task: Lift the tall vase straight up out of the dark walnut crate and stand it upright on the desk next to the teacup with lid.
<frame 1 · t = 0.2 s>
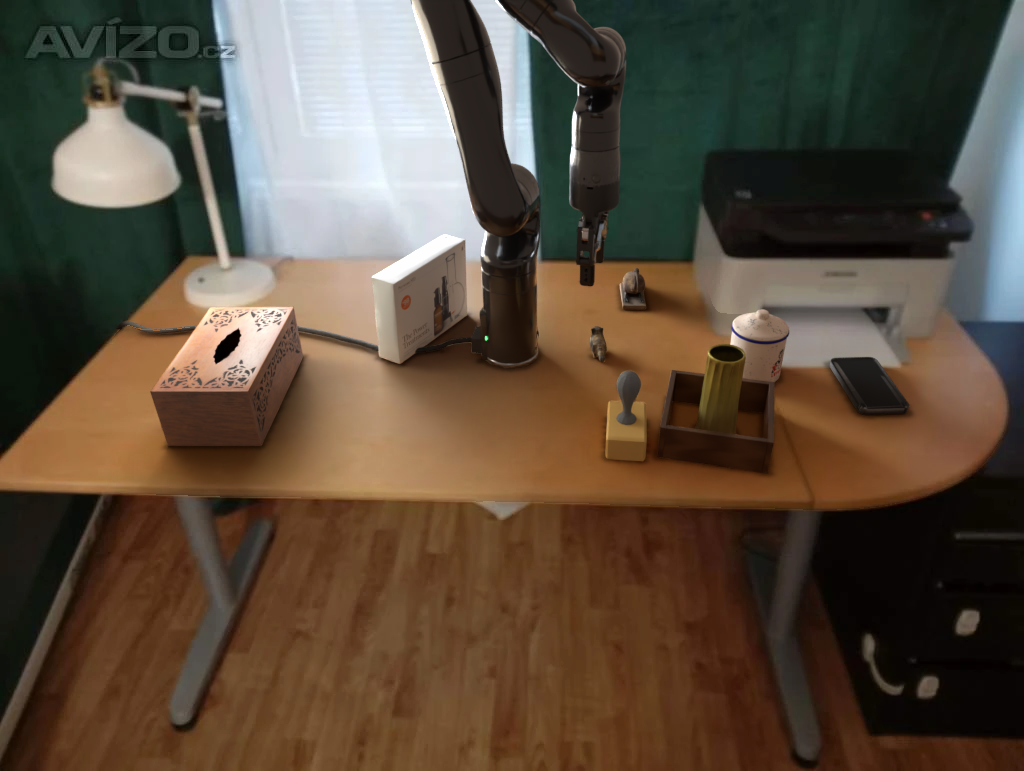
hand: (592, 273, 131), 17 cm above the table, tool pointing down, fingers open, 8 cm apart
teacup with lid: (752, 369, 139), on the table
figurine: (633, 303, 159), on the table
rubber stamp: (625, 440, 123), on the table
skincare box: (426, 336, 150), on the table
tissue box cover: (241, 398, 135), on the table
phone: (866, 388, 133), on the table
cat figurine: (598, 357, 143), on the table
vase: (714, 434, 124), resting in crate
crate: (715, 433, 124), on the table
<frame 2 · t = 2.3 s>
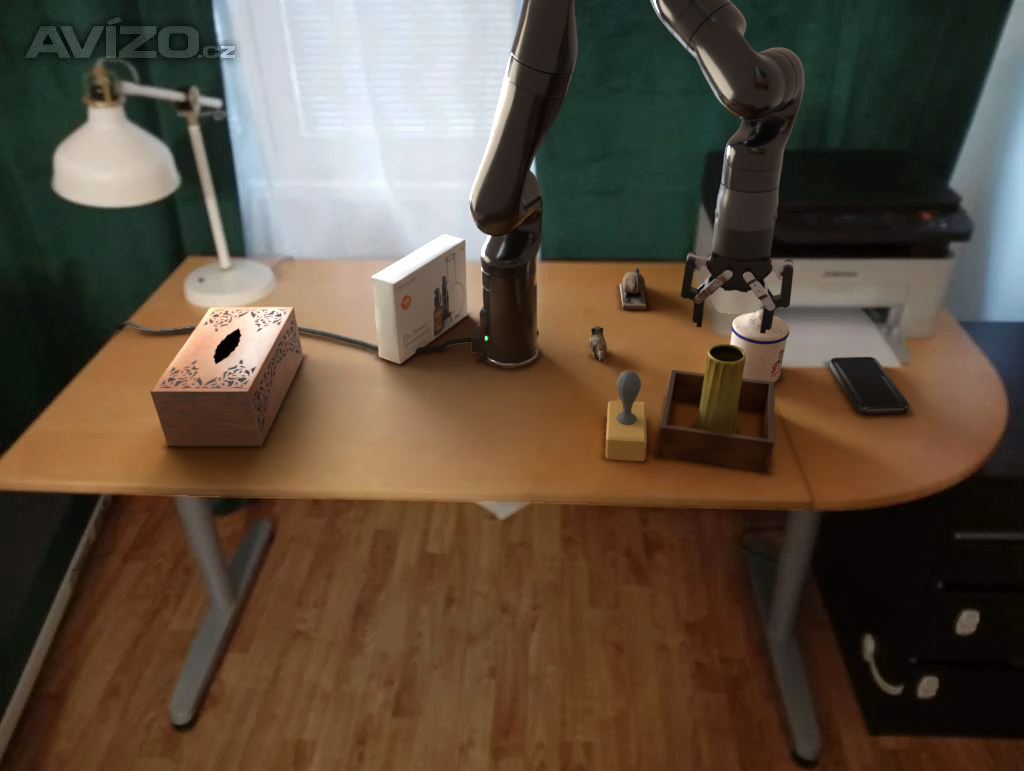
hand: (730, 327, 114), 18 cm above the table, tool pointing down, fingers open, 8 cm apart
nothing on the table moved.
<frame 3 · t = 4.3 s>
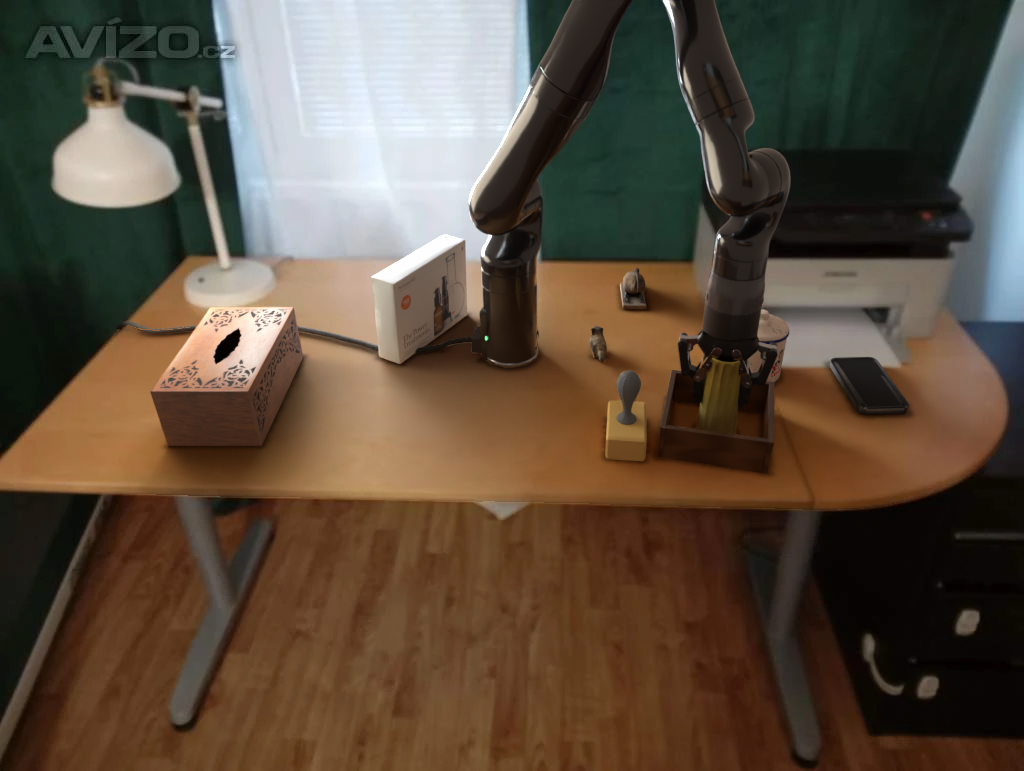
hand: (719, 401, 120), 6 cm above the table, tool pointing down, fingers closed on vase, 5 cm apart
vase: (714, 434, 124), resting in crate, touching gripper
everything else where it was.
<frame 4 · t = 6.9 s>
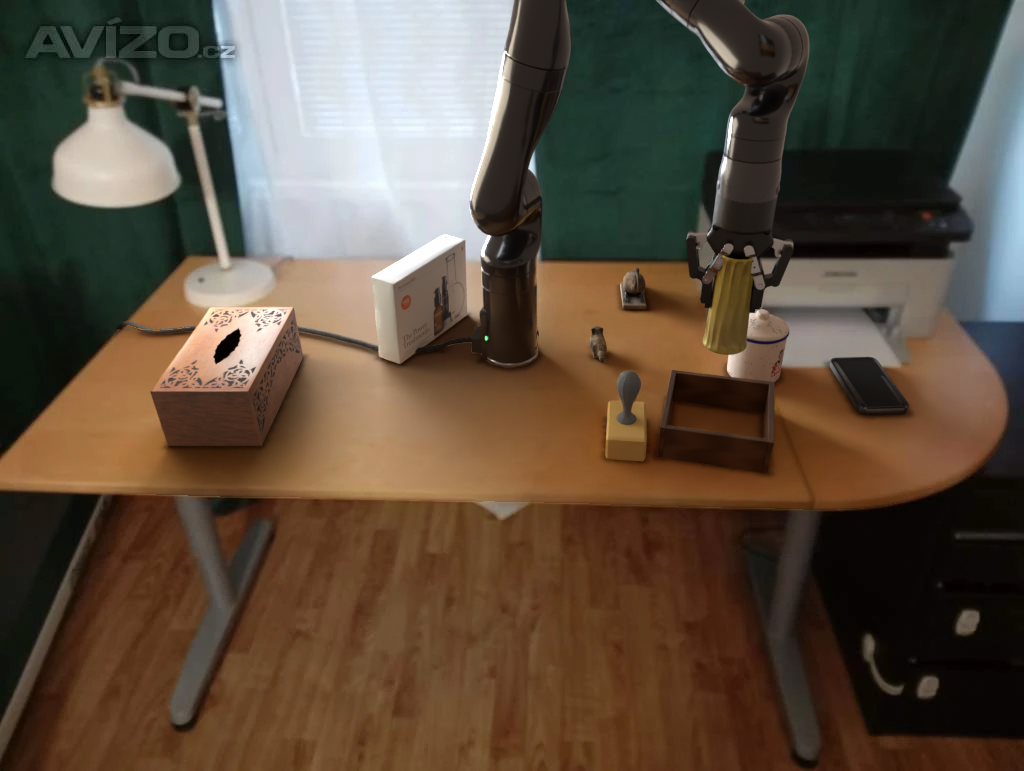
hand: (729, 307, 112), 21 cm above the table, tool pointing down, fingers closed on vase, 5 cm apart
vase: (724, 345, 116), point 15 cm above the table, touching gripper
everything else where it was.
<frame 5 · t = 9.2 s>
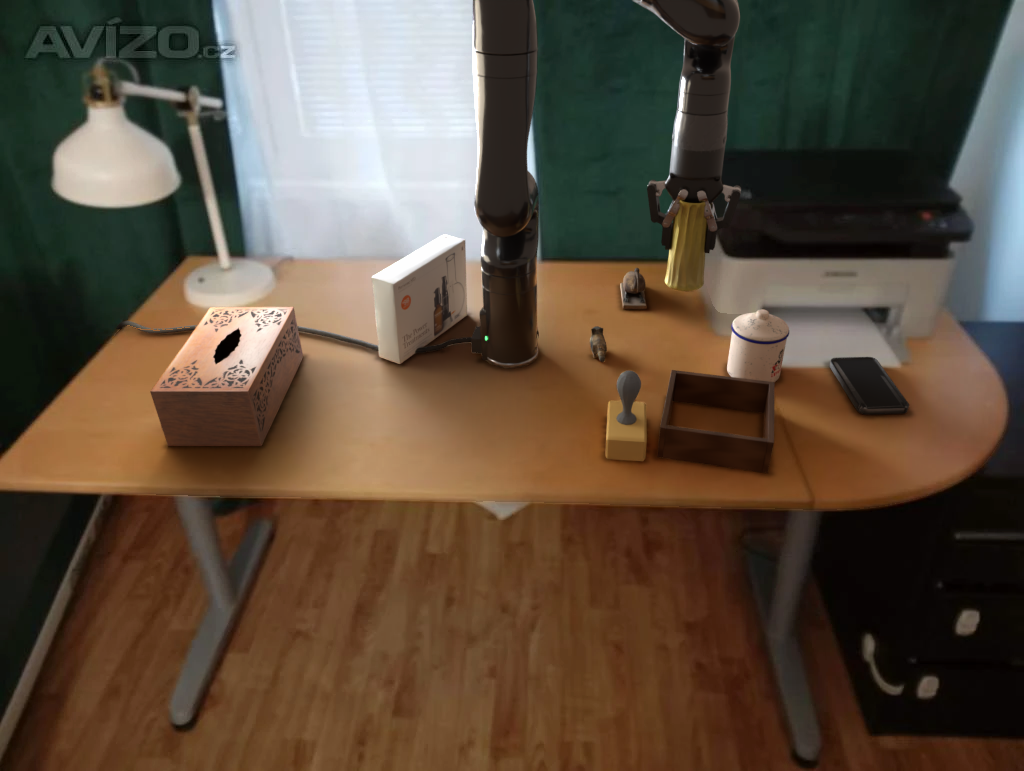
hand: (687, 249, 127), 22 cm above the table, tool pointing down, fingers closed on vase, 5 cm apart
vase: (683, 284, 130), point 16 cm above the table, touching gripper
everything else where it was.
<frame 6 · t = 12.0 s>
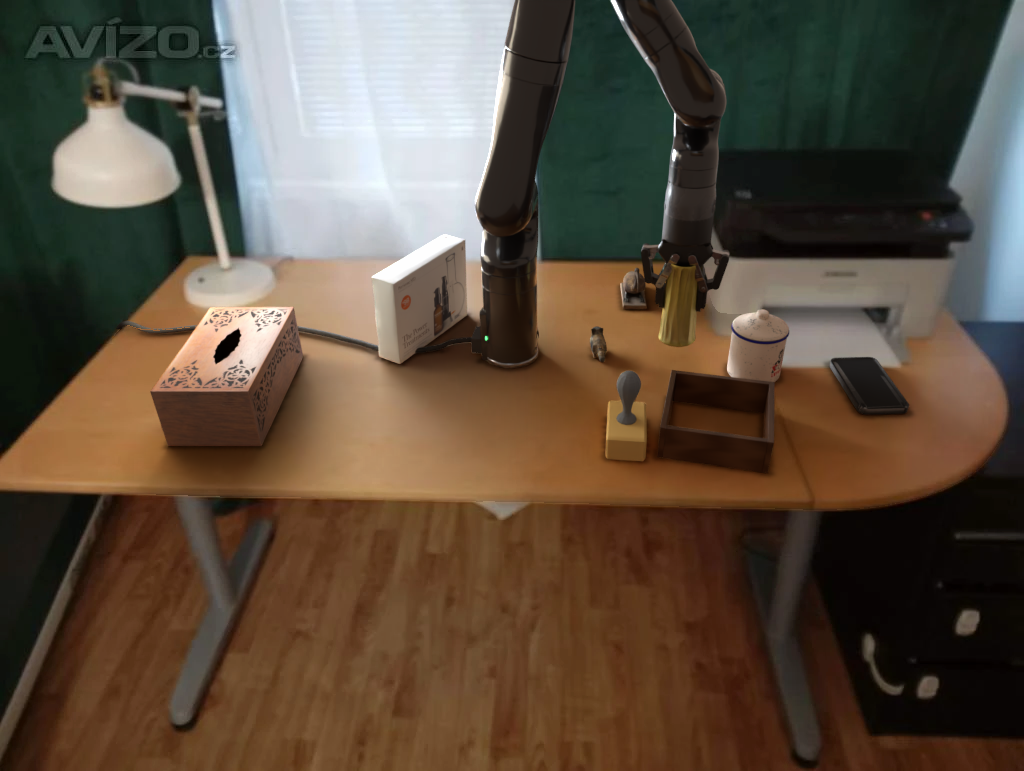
hand: (679, 307, 134), 11 cm above the table, tool pointing down, fingers closed on vase, 5 cm apart
vase: (676, 339, 137), point 5 cm above the table, touching gripper
everything else where it was.
when the fingers open (6 cm above the table, at t = 14.0 s): vase stays where it is, on the table.
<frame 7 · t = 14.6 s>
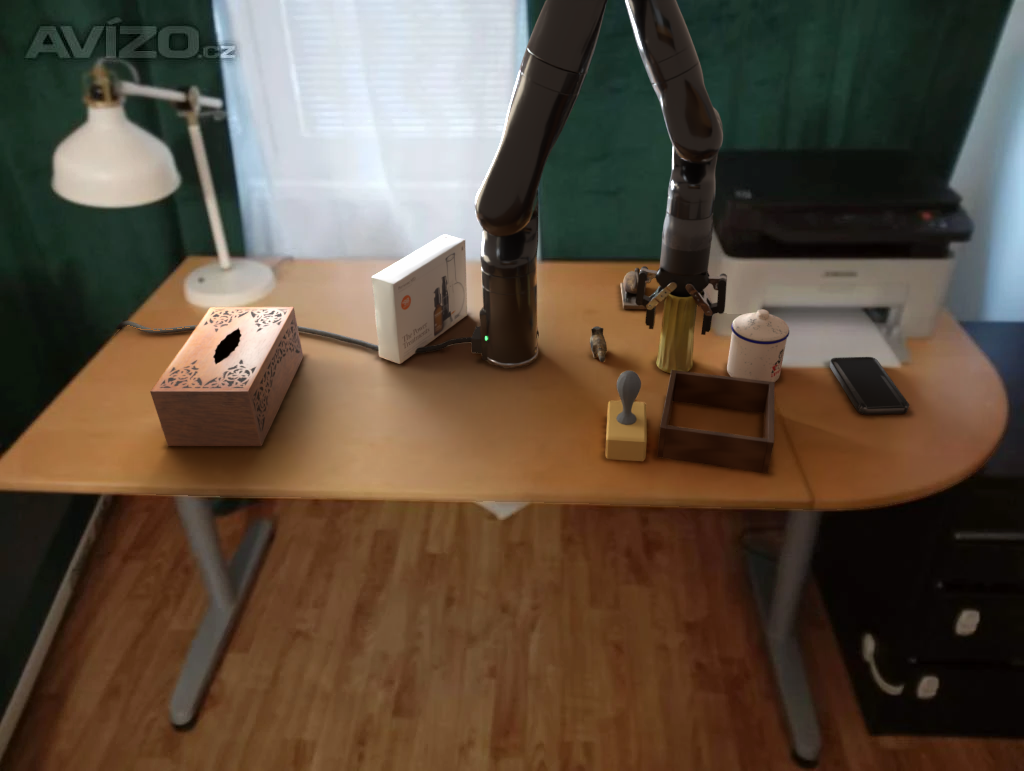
hand: (677, 329, 136), 7 cm above the table, tool pointing down, fingers open, 8 cm apart
vase: (674, 366, 140), on the table
everything else where it was.
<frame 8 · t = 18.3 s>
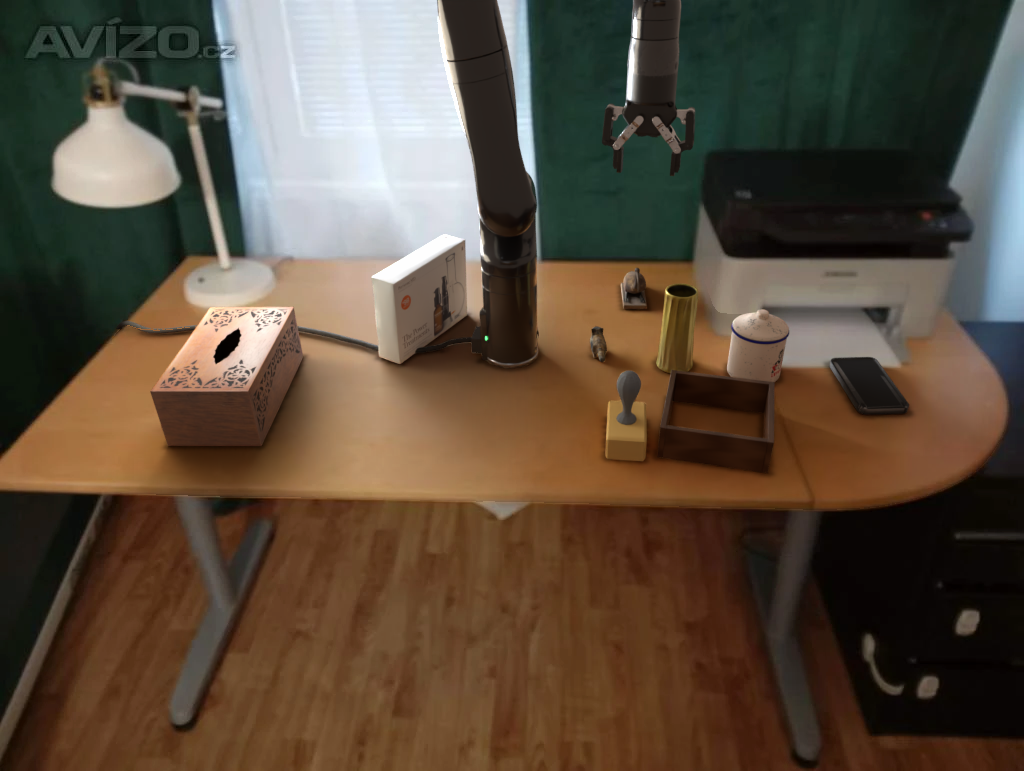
hand: (645, 172, 132), 30 cm above the table, tool pointing down, fingers open, 8 cm apart
nothing on the table moved.
at the end: vase inside the target area (0.0 cm from its centre), on the table; vase tilted 0°; vase 13.1 cm from the teacup with lid (horizontally) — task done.
